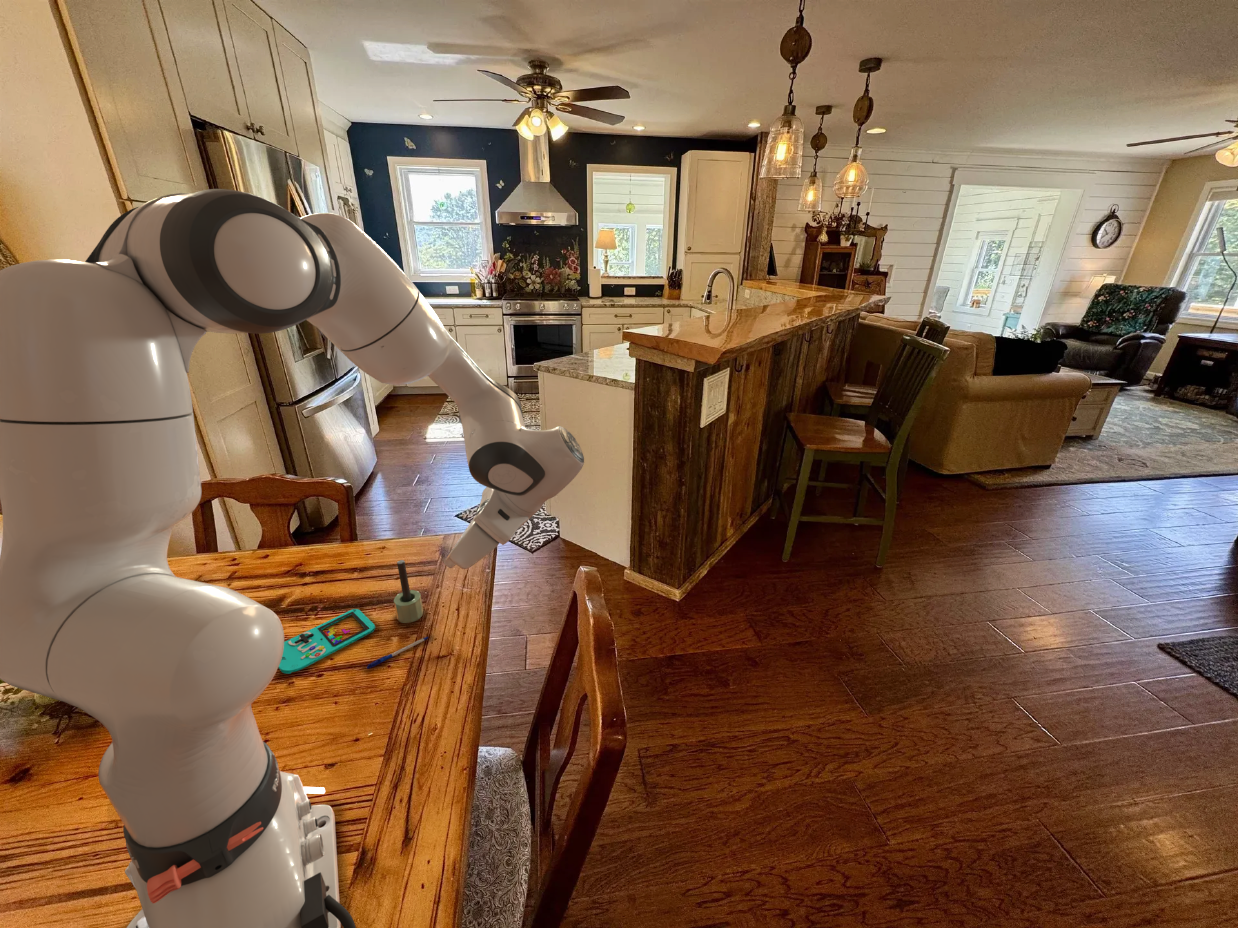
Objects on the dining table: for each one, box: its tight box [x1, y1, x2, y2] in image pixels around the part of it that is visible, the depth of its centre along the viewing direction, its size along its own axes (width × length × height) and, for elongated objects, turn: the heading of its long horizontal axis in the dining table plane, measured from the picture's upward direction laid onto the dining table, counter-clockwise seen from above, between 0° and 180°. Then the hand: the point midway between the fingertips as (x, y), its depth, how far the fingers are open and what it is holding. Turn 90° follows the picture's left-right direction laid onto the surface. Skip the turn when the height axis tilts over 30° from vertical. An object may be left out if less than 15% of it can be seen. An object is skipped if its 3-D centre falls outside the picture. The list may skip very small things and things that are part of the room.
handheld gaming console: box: [278, 608, 376, 675], centre depth 87 cm, size 8×1×15 cm
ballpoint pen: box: [366, 636, 429, 669], centre depth 85 cm, size 10×1×1 cm, turn 136°
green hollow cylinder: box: [393, 589, 424, 624], centre depth 93 cm, size 5×5×4 cm
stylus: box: [396, 559, 412, 602], centre depth 92 cm, size 1×1×12 cm
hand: (458, 548), depth 87 cm, fingers open, 8 cm apart
